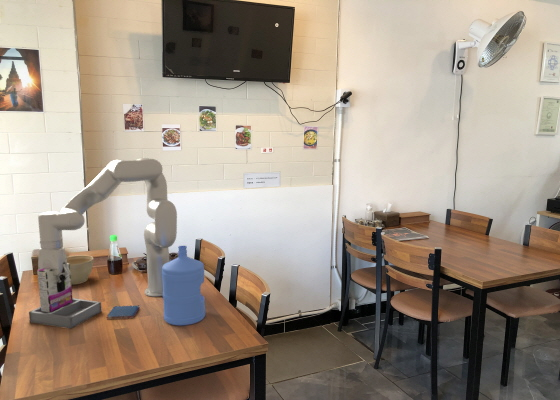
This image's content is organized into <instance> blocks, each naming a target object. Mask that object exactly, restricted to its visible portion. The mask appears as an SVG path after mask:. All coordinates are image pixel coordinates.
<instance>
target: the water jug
mask: <svg viewBox="0 0 560 400" xmlns="http://www.w3.org/2000/svg"><path fill="white" fill-rule="evenodd" d="M187 247H188V246H187V245H179V246H178V247H177V248H178V251H177V252H178V256H177V257H176V258H174V259H172V260H169V262H168V263H166V264H164V265H163V267H162V278H163V296H162V299H163V301H162V302H163V320H164V321H165V322H166V323H167V324H170V325H173V326H189V325H193V324H196V323H199V322H200V321H202V320H204V319H205V316H206V301H205V300H206V299H205V296H204V295H202V293H201V286H202V284H204V283H205V265H204V263H203V262H202V261H200V260H197V259H194V258H191V257H189V256H188V250H187Z"/></svg>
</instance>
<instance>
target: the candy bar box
mask: <svg viewBox="0 0 560 400" xmlns="http://www.w3.org/2000/svg"><path fill="white" fill-rule="evenodd" d="M67 267H68V270H69V271H70V266H69V263H67ZM36 274H37V275H36V276H37V285H38V291H39V294H38V295H39V302H40V307H41V311H42V312H47V313H52V312H54V311H56V310H58V309H60V308H62V307H64V306H66V305H69V304H71V303H72V302H73V298H74V297H73V290H72V285H71V277H70V275H69V276H68V277H67V278H66V280H65V290H64V291H62V292H58V291H57V282H58V280H57V276H54V275H53V271H52V269H40V270H38V269H37V270H36ZM64 274H65V273H64ZM60 277H62V276H61V275H60Z"/></svg>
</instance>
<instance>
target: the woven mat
mask: <svg viewBox="0 0 560 400" xmlns="http://www.w3.org/2000/svg"><path fill="white" fill-rule="evenodd" d="M139 310H140V305H139V304H138V305H121V306H120V305H119V306H118V305H115V306H113V307H112V309H111V310H110V311H109V313H108V314H107V315H106V316H105V318H106V320H107V321H108V320H124V319H126V320H129V319H134V318H135V317H136V314H137V313H138V311H139Z"/></svg>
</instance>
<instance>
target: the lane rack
mask: <svg viewBox="0 0 560 400" xmlns="http://www.w3.org/2000/svg"><path fill="white" fill-rule="evenodd" d="M72 298H73V302H72V303H71V304H69V305H66V306H64V307H62V308H60V309H58V310H56V311H54V312H52V313H47V312H42V311H41V306H39V307H37V308H35V309H32V310H30V311H28V314H29V317H28V318H29V323H33V324H38V325H45V326H51V327H56V328H57V327H58V328H63V329H69V330H72V329H73V328H75V327H78V325H80V324H82V323H84V322H86V321H87V320H89V319H91V318H93V317H94V316H97V315H98V314H100V313H102V303H101V301H96V300H95V301H94V300H87V299H82V298H80V299H79V298H74V297H72Z"/></svg>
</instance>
